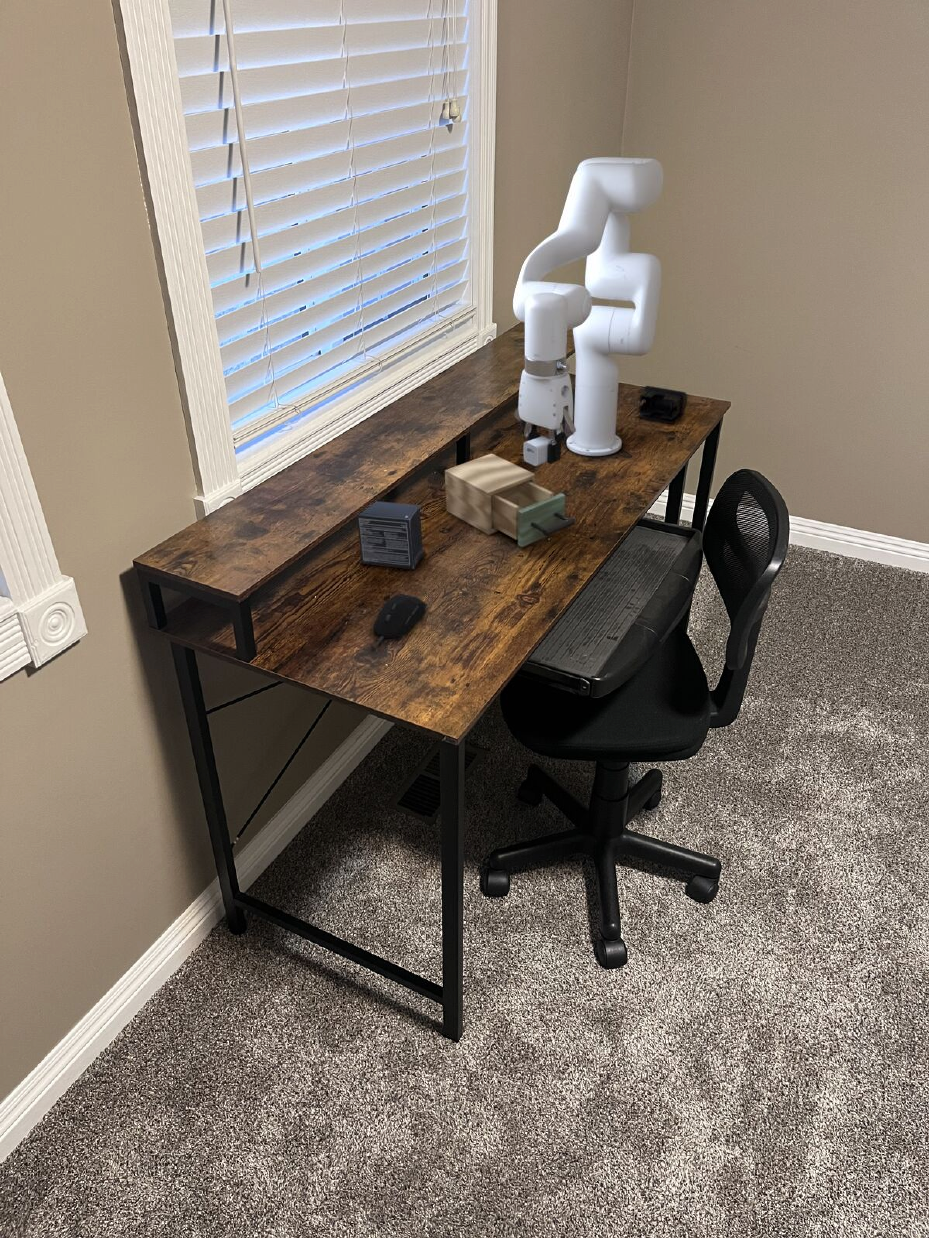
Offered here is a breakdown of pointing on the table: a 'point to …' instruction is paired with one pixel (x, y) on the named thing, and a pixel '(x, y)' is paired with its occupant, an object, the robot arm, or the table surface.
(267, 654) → the table surface
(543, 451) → the usb wall charger
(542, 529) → the drawer
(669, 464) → the table surface
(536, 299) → the robot arm
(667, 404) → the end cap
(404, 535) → the small box
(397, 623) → the gaming mouse
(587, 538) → the table surface
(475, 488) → the cabinet
